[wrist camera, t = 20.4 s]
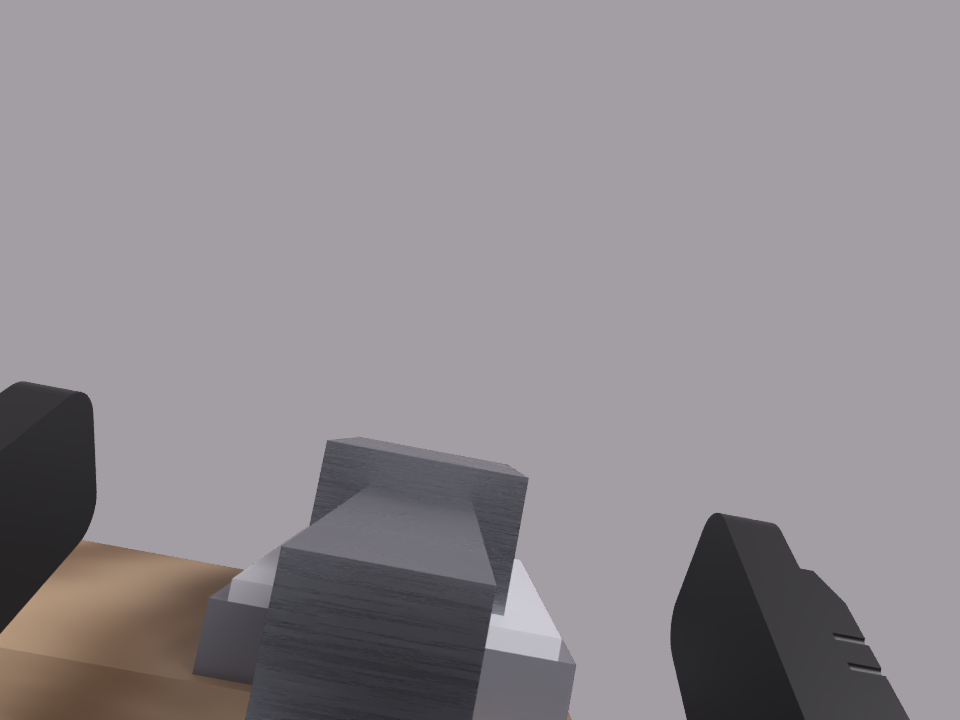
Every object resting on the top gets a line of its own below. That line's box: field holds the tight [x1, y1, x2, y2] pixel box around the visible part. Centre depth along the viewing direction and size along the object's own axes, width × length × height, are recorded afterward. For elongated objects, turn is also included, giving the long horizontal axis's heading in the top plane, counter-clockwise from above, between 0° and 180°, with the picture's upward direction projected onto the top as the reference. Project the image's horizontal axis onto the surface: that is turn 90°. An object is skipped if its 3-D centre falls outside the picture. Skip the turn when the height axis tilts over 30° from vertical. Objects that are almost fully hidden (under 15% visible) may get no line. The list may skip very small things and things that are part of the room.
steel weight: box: [245, 437, 528, 720], centre depth 20 cm, size 6×20×4 cm, turn 2°
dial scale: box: [192, 525, 576, 720], centre depth 26 cm, size 10×13×5 cm
